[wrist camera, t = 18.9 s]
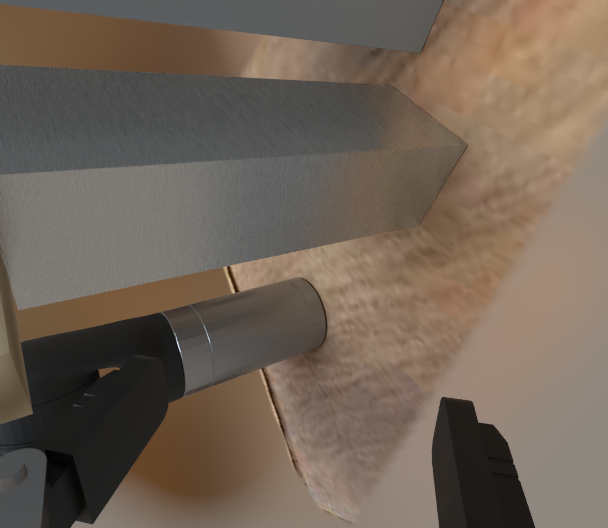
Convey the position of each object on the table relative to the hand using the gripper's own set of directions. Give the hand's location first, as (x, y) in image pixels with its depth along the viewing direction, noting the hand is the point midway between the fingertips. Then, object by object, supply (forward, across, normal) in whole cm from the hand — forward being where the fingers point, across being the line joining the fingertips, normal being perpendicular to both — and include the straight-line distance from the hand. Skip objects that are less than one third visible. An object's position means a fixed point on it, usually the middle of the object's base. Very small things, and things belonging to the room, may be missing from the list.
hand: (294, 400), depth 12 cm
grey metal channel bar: (+27, +4, +3) cm, 27 cm away
